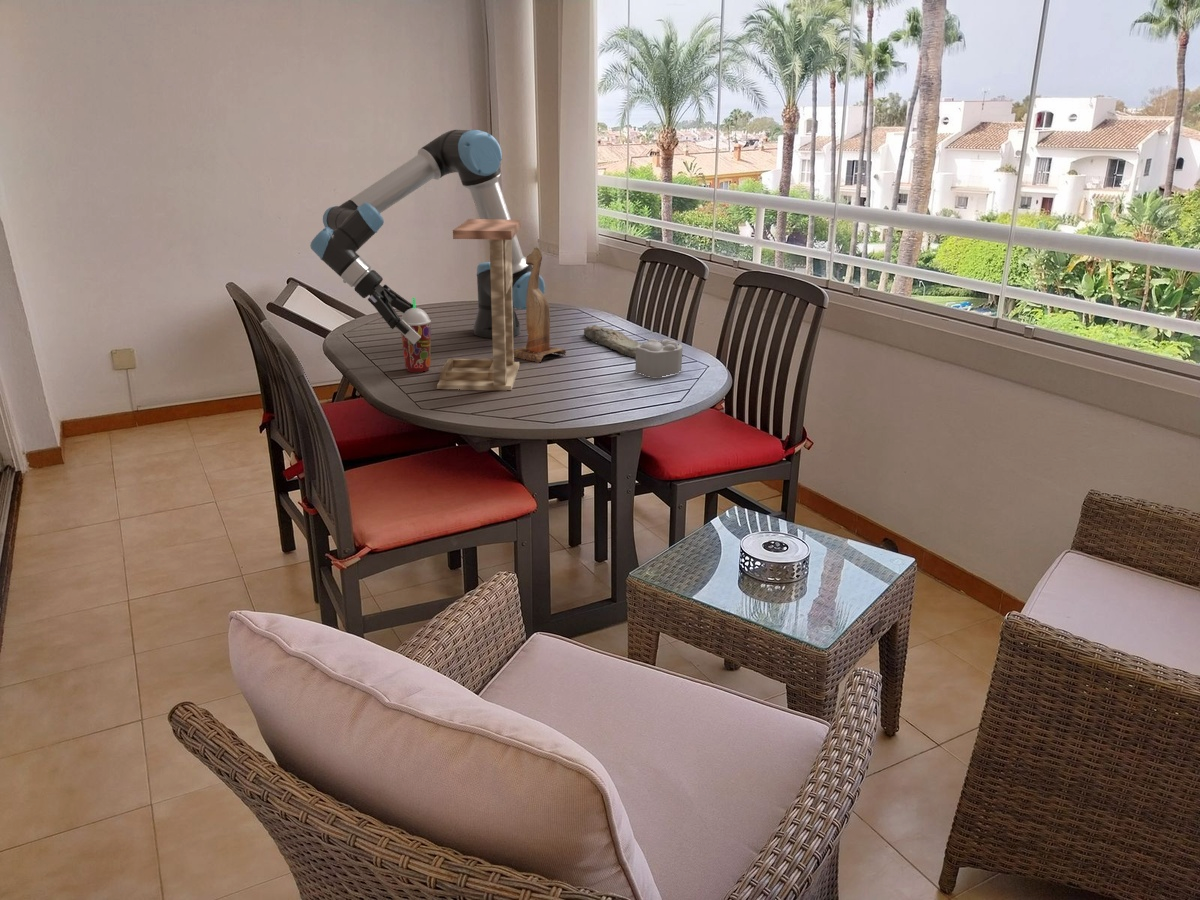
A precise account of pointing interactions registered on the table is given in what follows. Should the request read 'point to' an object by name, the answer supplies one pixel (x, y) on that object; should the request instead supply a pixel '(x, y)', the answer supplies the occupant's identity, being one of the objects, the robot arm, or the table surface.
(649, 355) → the lumpy-topped squat cylinder
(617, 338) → the long grey stone
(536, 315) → the bird sculpture
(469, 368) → the wooden pedestal stand
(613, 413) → the table surface
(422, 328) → the smoothie
